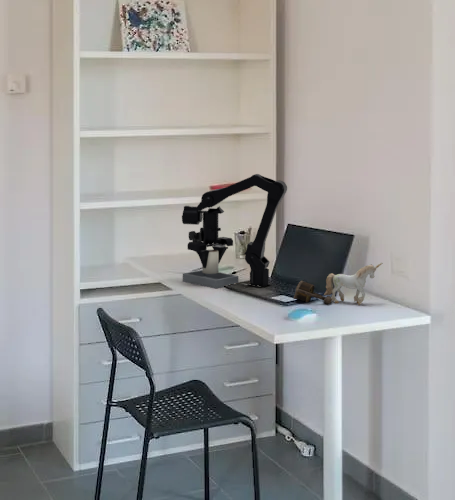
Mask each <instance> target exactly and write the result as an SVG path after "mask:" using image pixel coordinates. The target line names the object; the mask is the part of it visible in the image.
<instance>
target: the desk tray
mask: <svg viewBox="0 0 455 500" xmlns="http://www.w3.org/2000/svg"><path fill="white" fill-rule="evenodd" d="M182 282H183V283H189V284H193V285H198V286H202V287H208V288H213V289H220V288H225V287H224V286H225V285H229V284H234V283H238V284H239V275H235V274H232V273H231V274H230V273H225V272H218V273H216V274H205V273H202V269H201V270H200V269H199V270H196V271H194V270H193V271H188V272H186V273H185V272H184V273H182Z"/></svg>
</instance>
